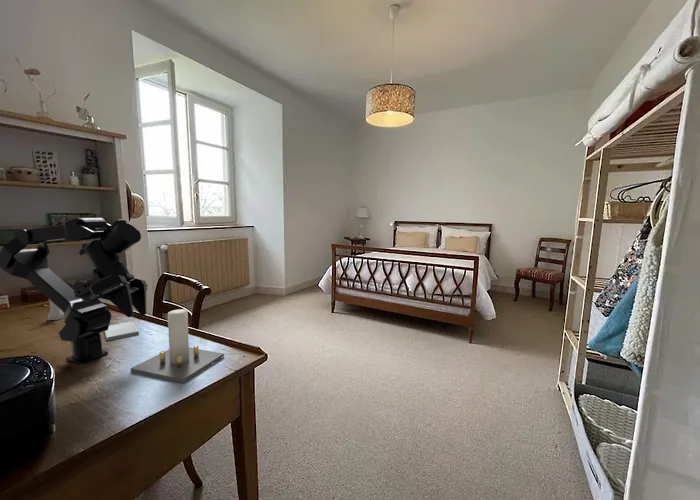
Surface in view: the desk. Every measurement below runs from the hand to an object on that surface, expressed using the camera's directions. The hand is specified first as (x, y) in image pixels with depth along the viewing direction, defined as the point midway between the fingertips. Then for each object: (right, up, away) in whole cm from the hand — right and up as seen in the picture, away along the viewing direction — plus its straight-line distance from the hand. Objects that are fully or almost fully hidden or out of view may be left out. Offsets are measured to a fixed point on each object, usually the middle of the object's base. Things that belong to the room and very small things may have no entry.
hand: (137, 315), depth 77 cm
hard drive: (-21, -11, +23) cm, 33 cm away
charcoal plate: (+9, -13, +2) cm, 16 cm away
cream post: (+9, -12, +2) cm, 16 cm away
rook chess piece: (-52, -8, +33) cm, 62 cm away
